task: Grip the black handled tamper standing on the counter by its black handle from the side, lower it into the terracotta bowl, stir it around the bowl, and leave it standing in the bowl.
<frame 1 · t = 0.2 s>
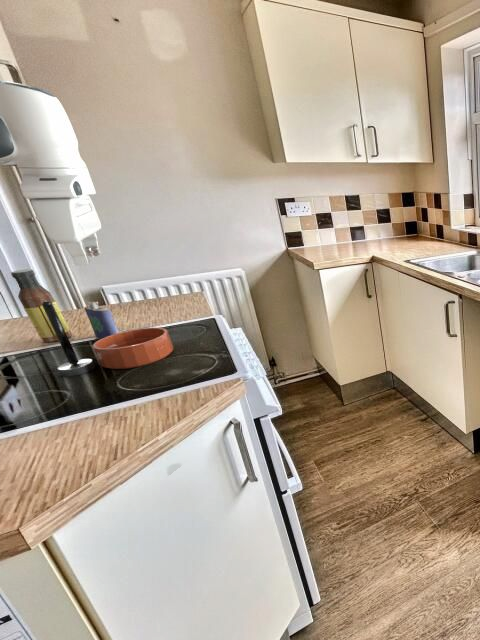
hand: (89, 259, 83), 28 cm above the worktop, tool pointing down, fingers open, 8 cm apart
sauce bottle: (57, 339, 120), on the worktop
bowl: (139, 357, 107), on the worktop
black handled tamper: (78, 370, 100), on the worktop
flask: (108, 338, 120), on the worktop
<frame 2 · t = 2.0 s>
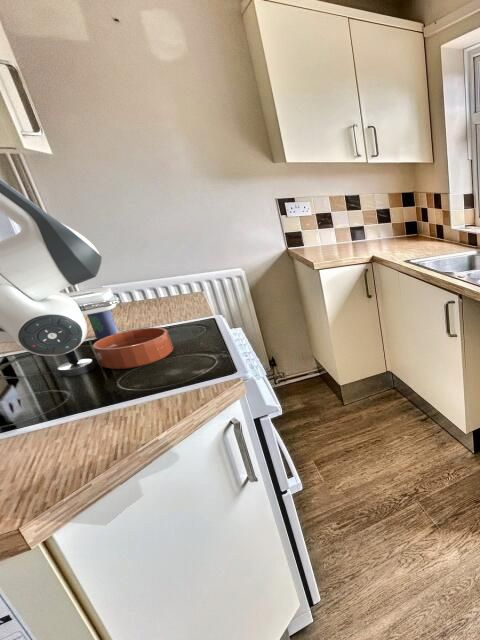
hand: (43, 300, 85), 20 cm above the worktop, tool horizontal, fingers open, 8 cm apart
nothing on the worktop moved.
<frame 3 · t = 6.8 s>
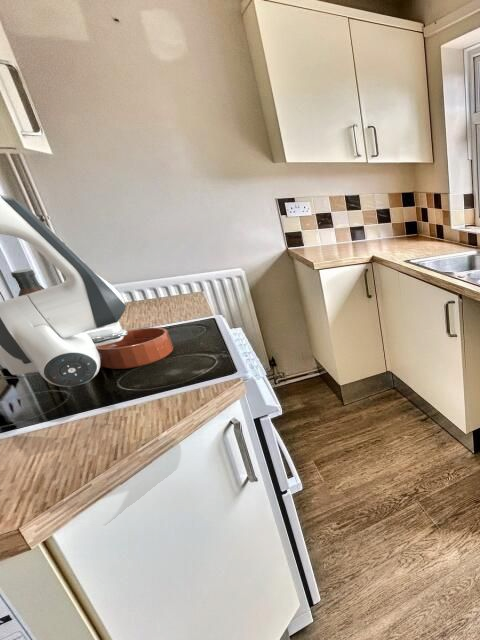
hand: (60, 332, 97), 10 cm above the worktop, tool horizontal, fingers closed on black handled tamper
black handled tamper: (78, 370, 100), on the worktop, touching gripper
everything else where it was.
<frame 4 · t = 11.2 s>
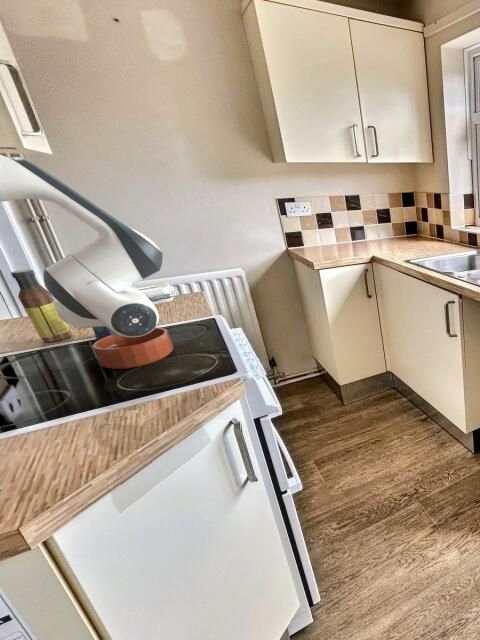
hand: (113, 293, 101), 17 cm above the worktop, tool horizontal, fingers closed on black handled tamper
black handled tamper: (128, 332, 104), point 7 cm above the worktop, touching gripper
everything else where it was.
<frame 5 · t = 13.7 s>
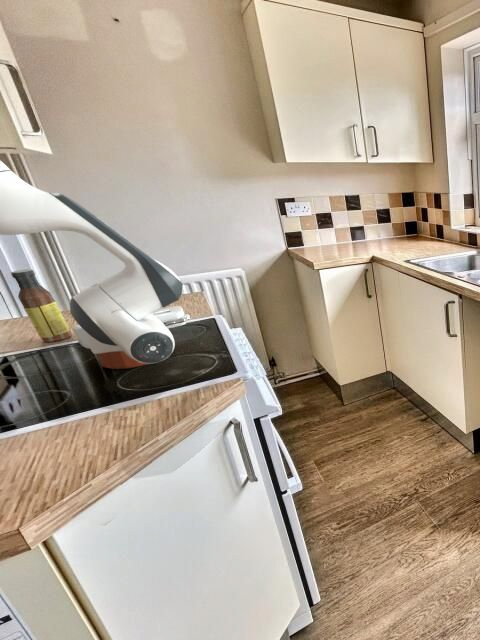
hand: (128, 317, 105), 10 cm above the worktop, tool horizontal, fingers closed on black handled tamper
black handled tamper: (142, 353, 108), point 1 cm above the worktop, touching gripper
everything else where it was.
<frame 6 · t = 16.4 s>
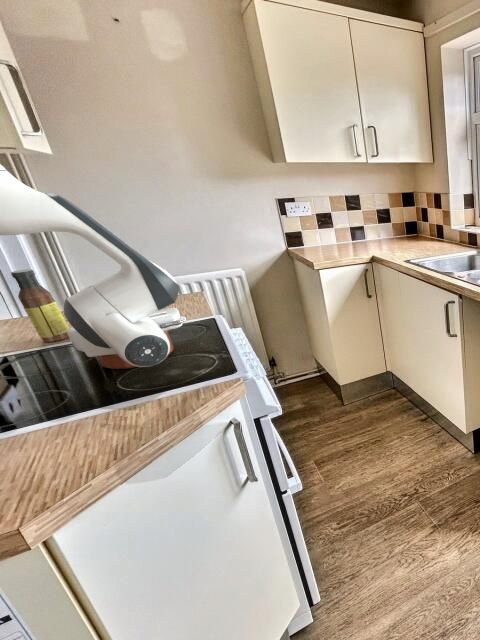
hand: (123, 319, 103), 10 cm above the worktop, tool horizontal, fingers open, 8 cm apart
black handled tamper: (138, 355, 106), point 1 cm above the worktop, touching bowl
everything else where it was.
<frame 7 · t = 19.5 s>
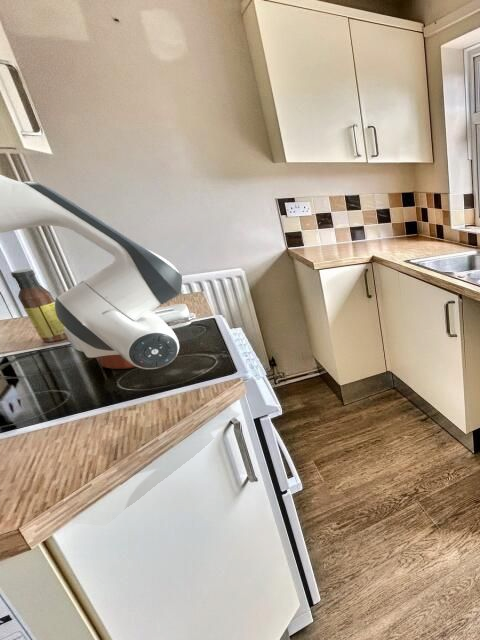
hand: (126, 316, 94), 14 cm above the worktop, tool horizontal, fingers open, 8 cm apart
nothing on the worktop moved.
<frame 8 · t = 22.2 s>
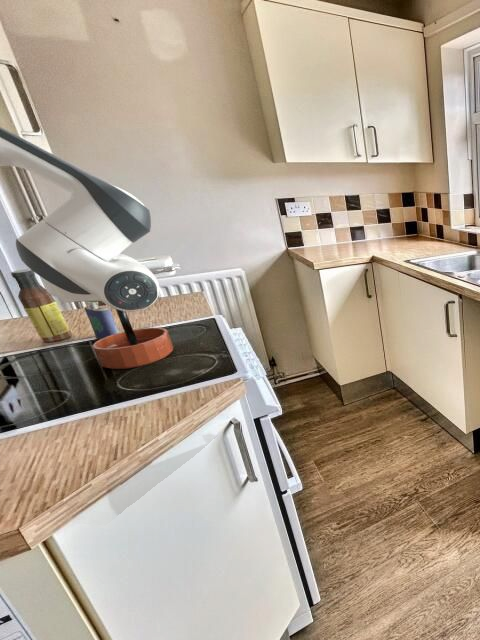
hand: (107, 267, 89), 25 cm above the worktop, tool horizontal, fingers open, 8 cm apart
nothing on the worktop moved.
at the end: black handled tamper inside the target area in the bowl (0.2 cm from its centre), point 0.6 cm above the bowl's base; black handled tamper tilted 0°; the gripper is holding nothing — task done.
